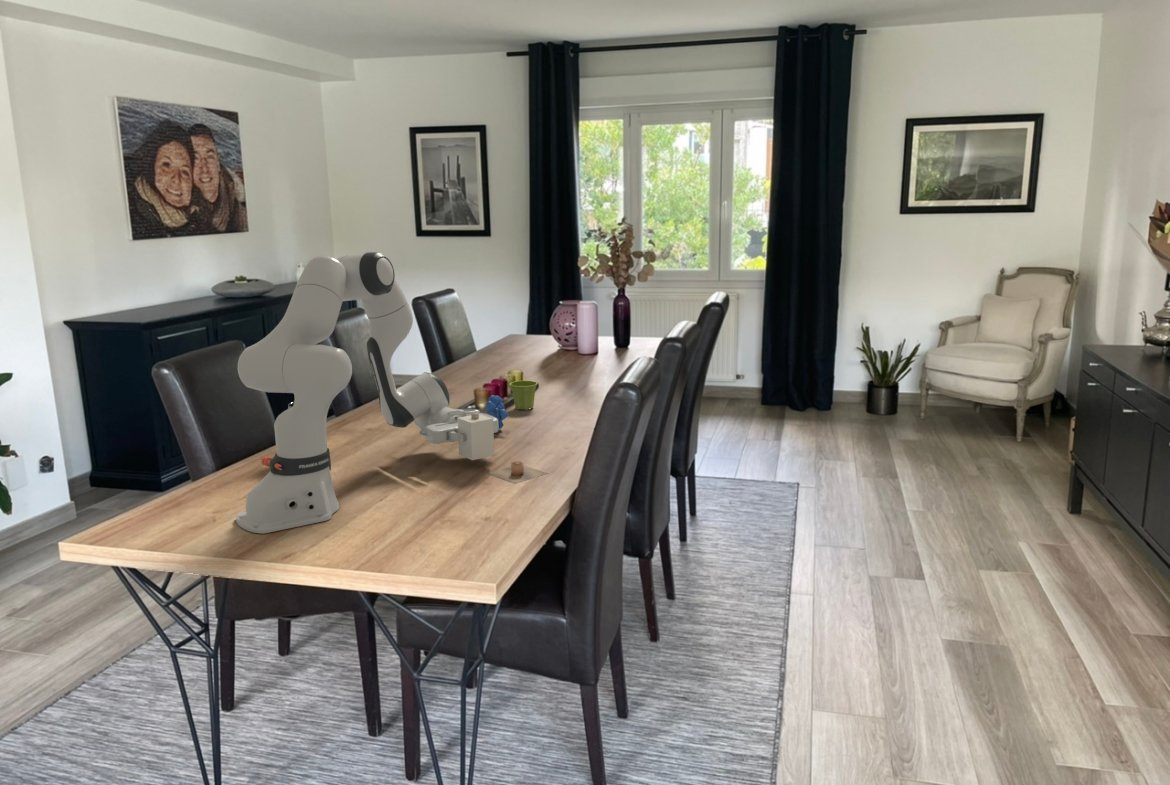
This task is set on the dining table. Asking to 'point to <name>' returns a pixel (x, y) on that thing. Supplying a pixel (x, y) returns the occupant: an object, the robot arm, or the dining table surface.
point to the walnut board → (527, 475)
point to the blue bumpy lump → (496, 409)
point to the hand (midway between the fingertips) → (477, 435)
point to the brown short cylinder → (517, 468)
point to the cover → (476, 436)
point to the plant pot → (523, 393)
